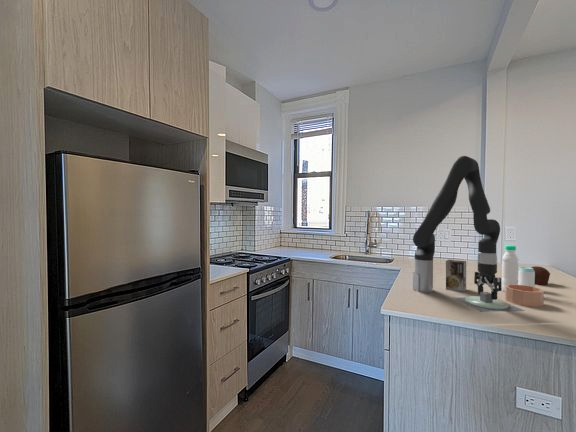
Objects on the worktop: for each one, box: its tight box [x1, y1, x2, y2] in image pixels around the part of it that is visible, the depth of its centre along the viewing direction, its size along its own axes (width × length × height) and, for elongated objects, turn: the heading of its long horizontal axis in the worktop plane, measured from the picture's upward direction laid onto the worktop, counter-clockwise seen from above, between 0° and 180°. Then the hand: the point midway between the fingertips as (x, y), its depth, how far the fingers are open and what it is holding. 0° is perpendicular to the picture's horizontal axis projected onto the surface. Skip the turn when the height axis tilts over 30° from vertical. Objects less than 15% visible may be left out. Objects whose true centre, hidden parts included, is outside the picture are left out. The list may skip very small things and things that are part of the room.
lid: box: [465, 291, 509, 310], centre depth 138 cm, size 17×17×5 cm
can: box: [518, 266, 536, 287], centre depth 165 cm, size 7×7×12 cm
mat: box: [453, 296, 526, 312], centre depth 138 cm, size 20×20×1 cm
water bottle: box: [501, 244, 519, 292], centre depth 160 cm, size 7×7×25 cm
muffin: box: [530, 266, 551, 286], centre depth 178 cm, size 12×11×10 cm
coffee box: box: [445, 259, 467, 292], centre depth 164 cm, size 9×6×16 cm
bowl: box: [504, 284, 545, 308], centre depth 141 cm, size 14×14×7 cm
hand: (487, 296), depth 138 cm, fingers open, 8 cm apart
